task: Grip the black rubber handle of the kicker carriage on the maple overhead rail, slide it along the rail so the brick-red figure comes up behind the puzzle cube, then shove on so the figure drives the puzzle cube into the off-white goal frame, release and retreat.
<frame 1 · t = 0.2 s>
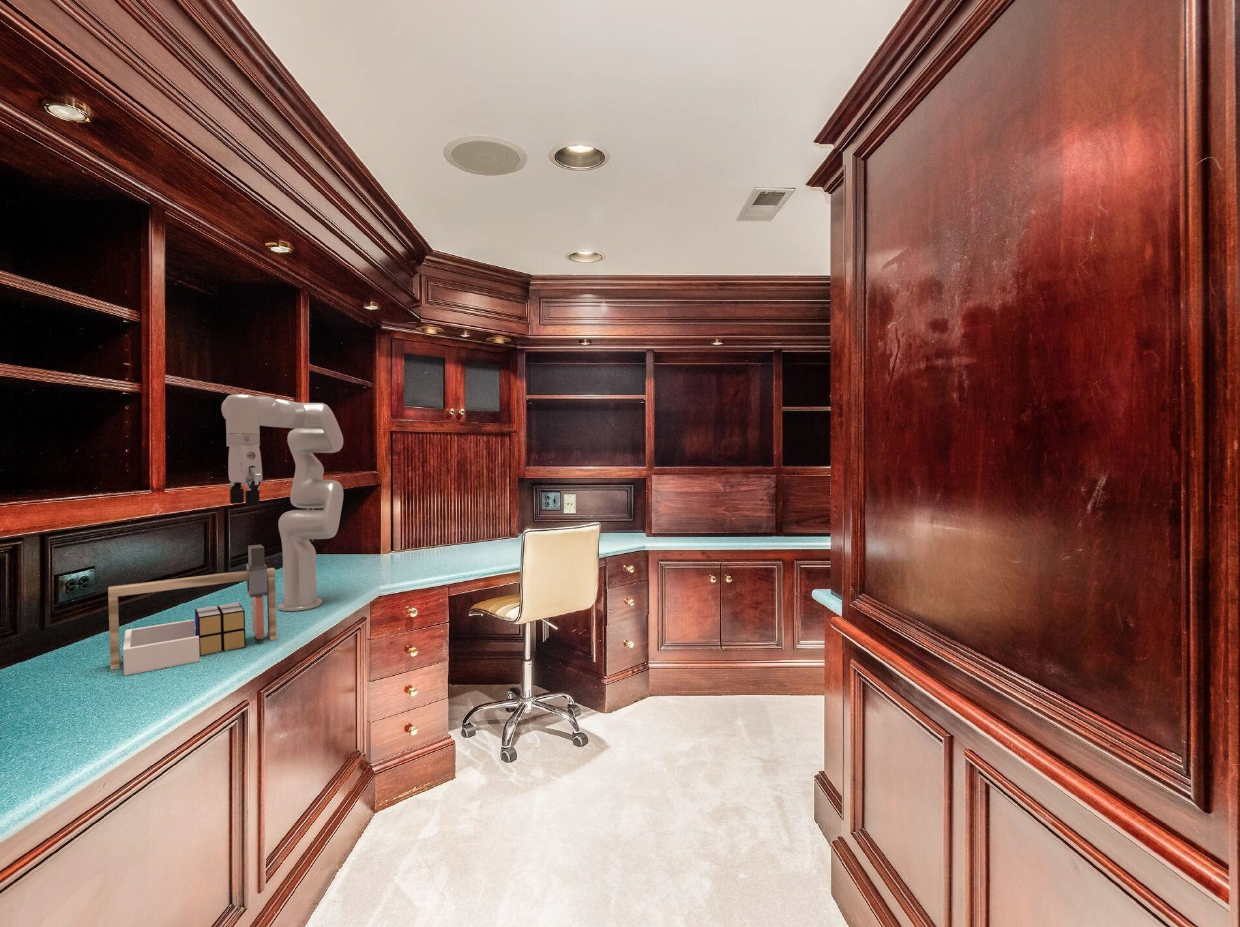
hand: (244, 504, 158), 37 cm above the table, tool pointing down, fingers open, 9 cm apart
goal: (162, 657, 146), on the table
puzzle cube: (220, 647, 154), on the table
kicker: (257, 590, 159), point 13 cm above the table, slide at 0.0 cm
rail gantry: (199, 650, 151), on the table
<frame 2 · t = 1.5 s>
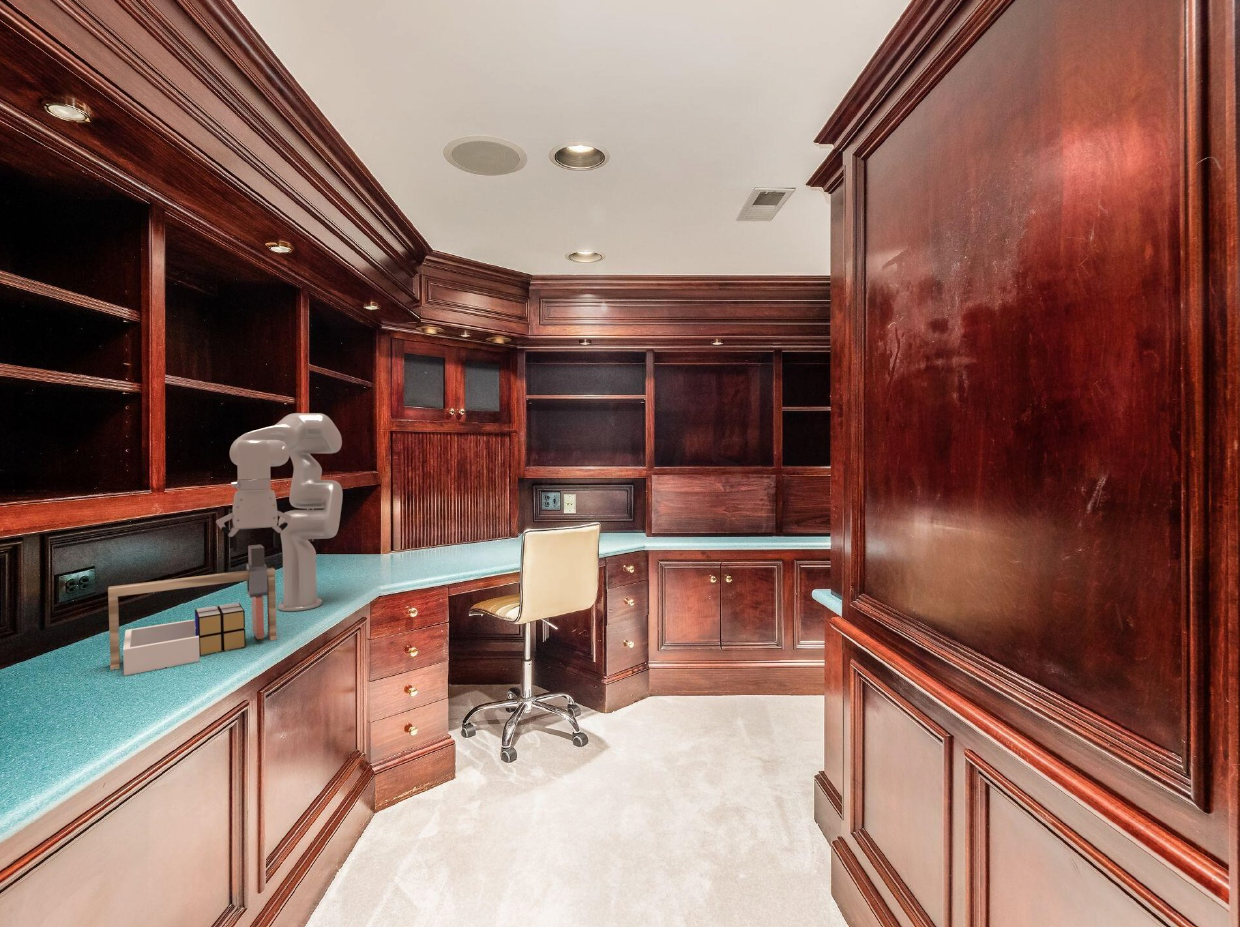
hand: (255, 549, 158), 25 cm above the table, tool pointing down, fingers open, 9 cm apart
nothing on the table moved.
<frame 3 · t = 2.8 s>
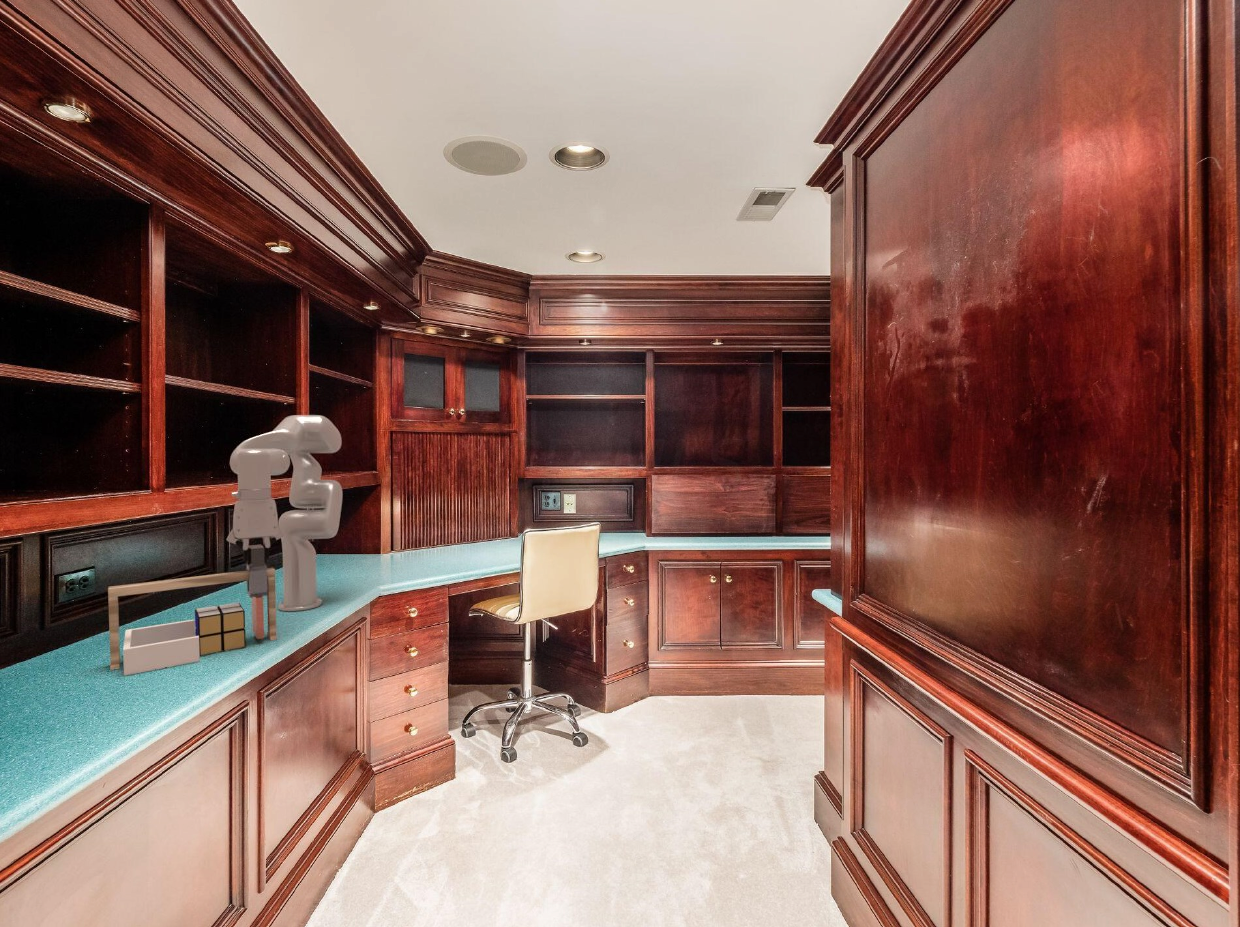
hand: (256, 562, 158), 21 cm above the table, tool pointing down, fingers closed on kicker, 3 cm apart
kicker: (257, 590, 159), point 13 cm above the table, slide at 0.0 cm, touching gripper
everything else where it was.
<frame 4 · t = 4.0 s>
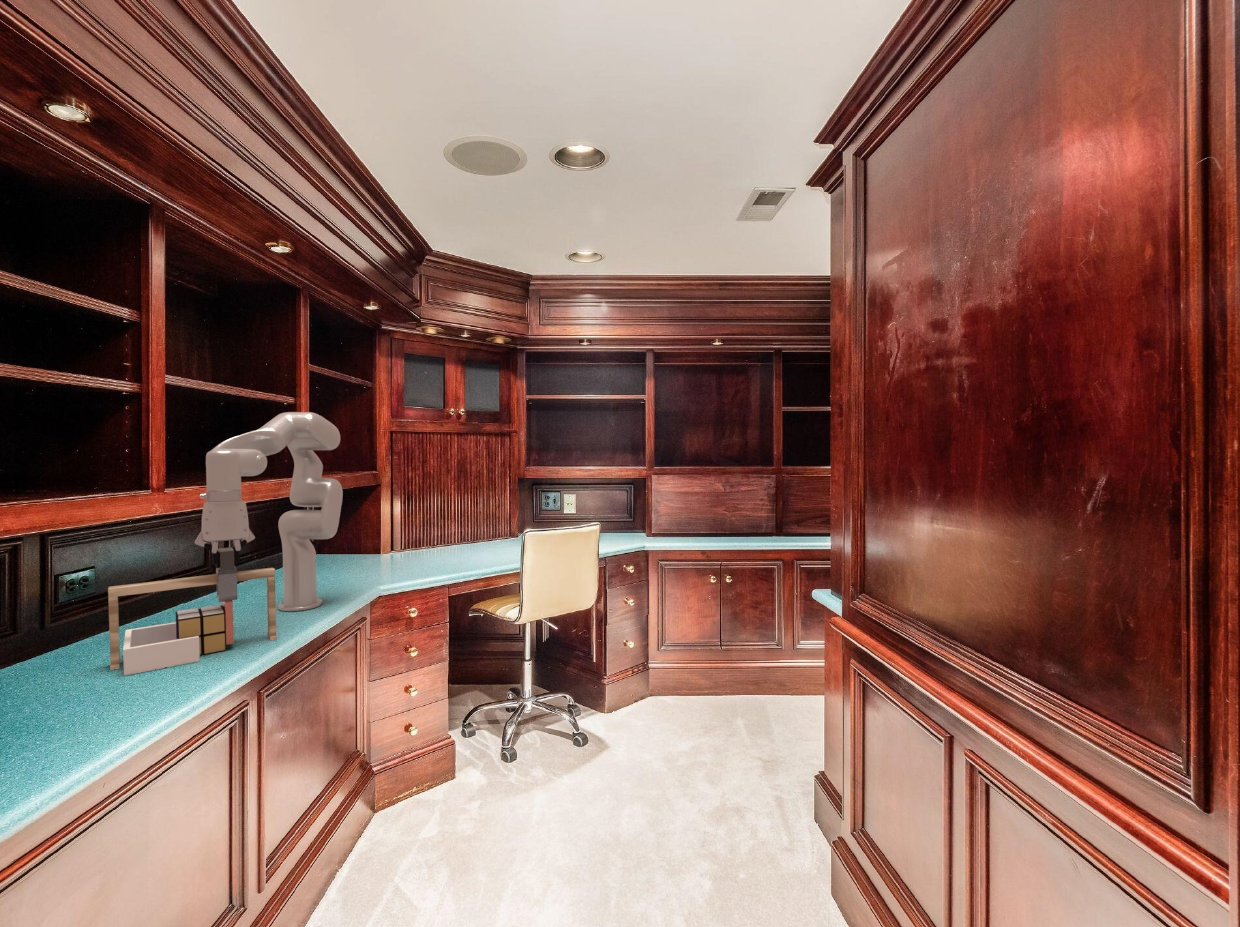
hand: (226, 565, 154), 21 cm above the table, tool pointing down, fingers closed on kicker, 3 cm apart
puzzle cube: (201, 650, 151), on the table, touching kicker
kicker: (227, 594, 154), point 13 cm above the table, slide at 6.8 cm, touching gripper, puzzle cube
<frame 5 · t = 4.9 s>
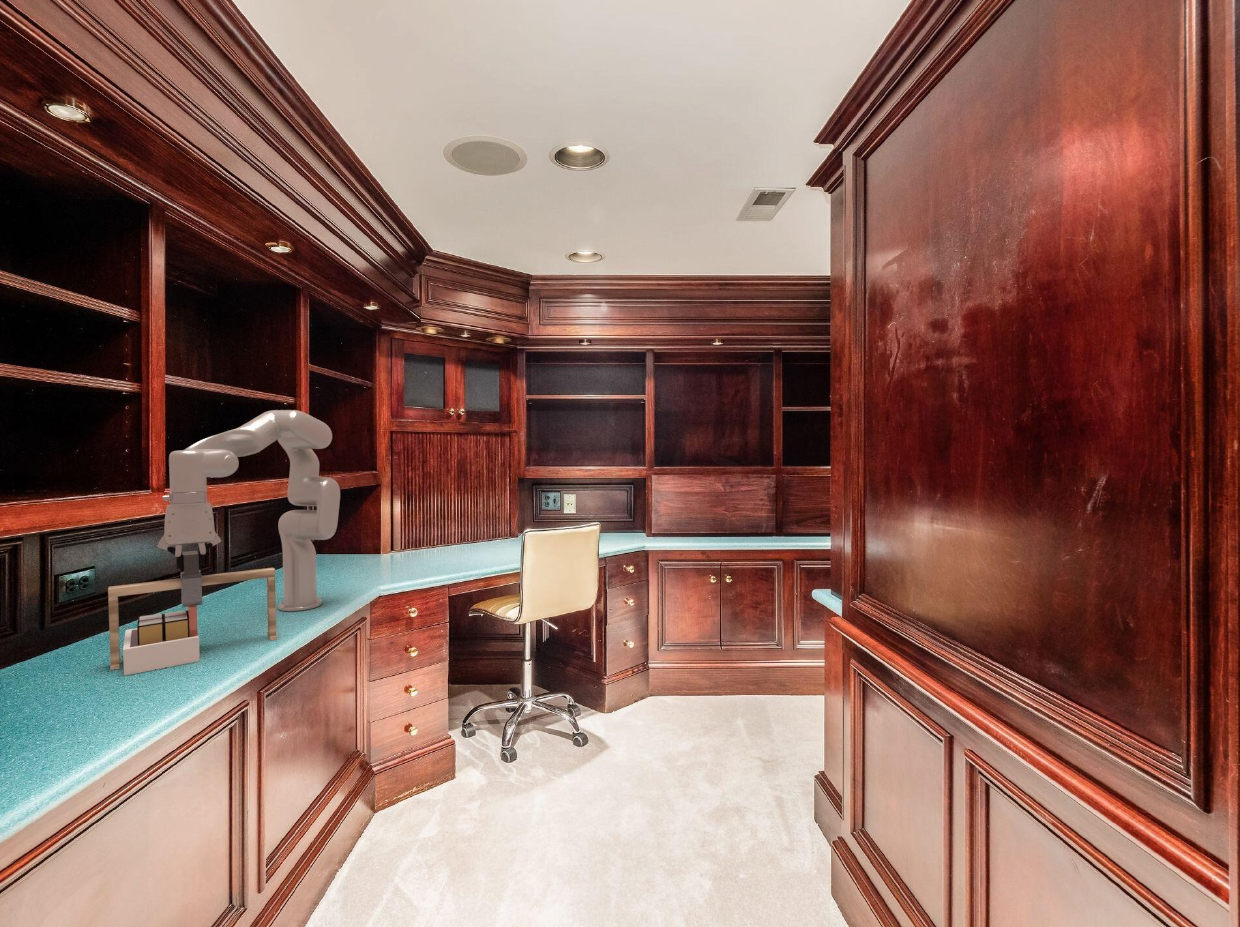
hand: (190, 569, 149), 21 cm above the table, tool pointing down, fingers closed on kicker, 3 cm apart
puzzle cube: (164, 657, 147), on the table
kicker: (191, 599, 150), point 13 cm above the table, slide at 14.4 cm, touching gripper
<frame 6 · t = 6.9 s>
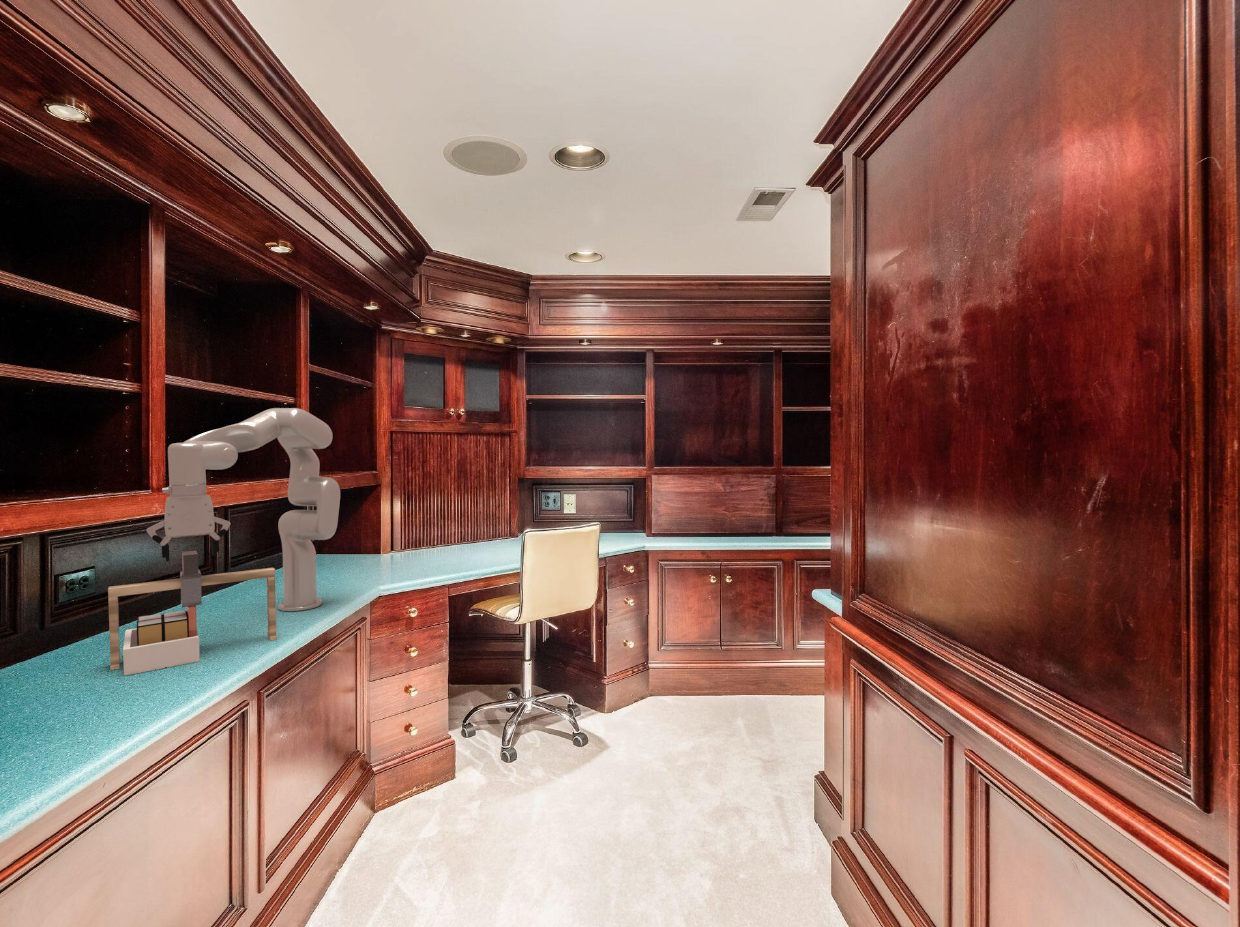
hand: (191, 557, 150), 24 cm above the table, tool pointing down, fingers open, 9 cm apart
kicker: (191, 599, 150), point 13 cm above the table, slide at 14.5 cm
everything else where it was.
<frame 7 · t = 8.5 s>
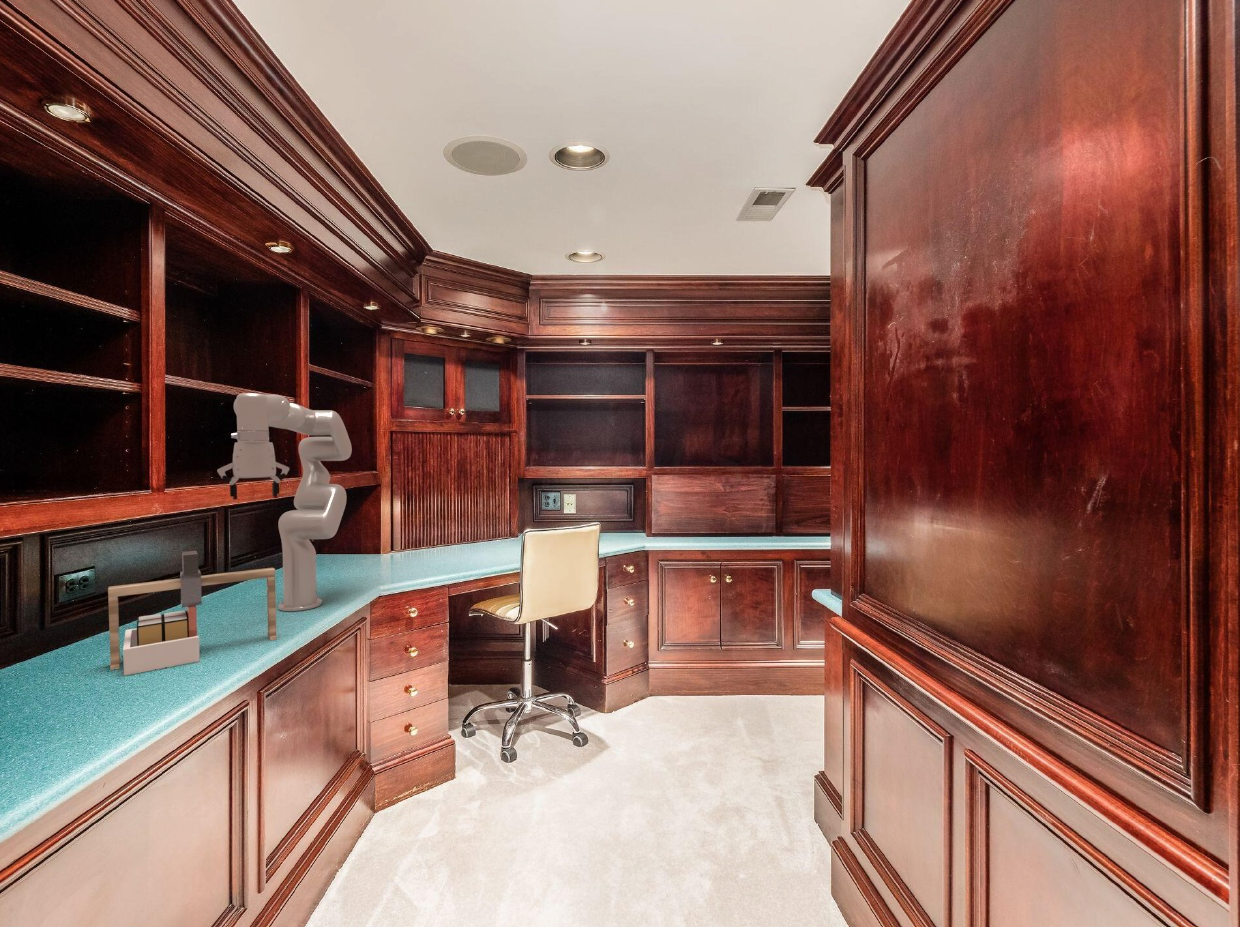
hand: (255, 497, 165), 38 cm above the table, tool pointing down, fingers open, 9 cm apart
nothing on the table moved.
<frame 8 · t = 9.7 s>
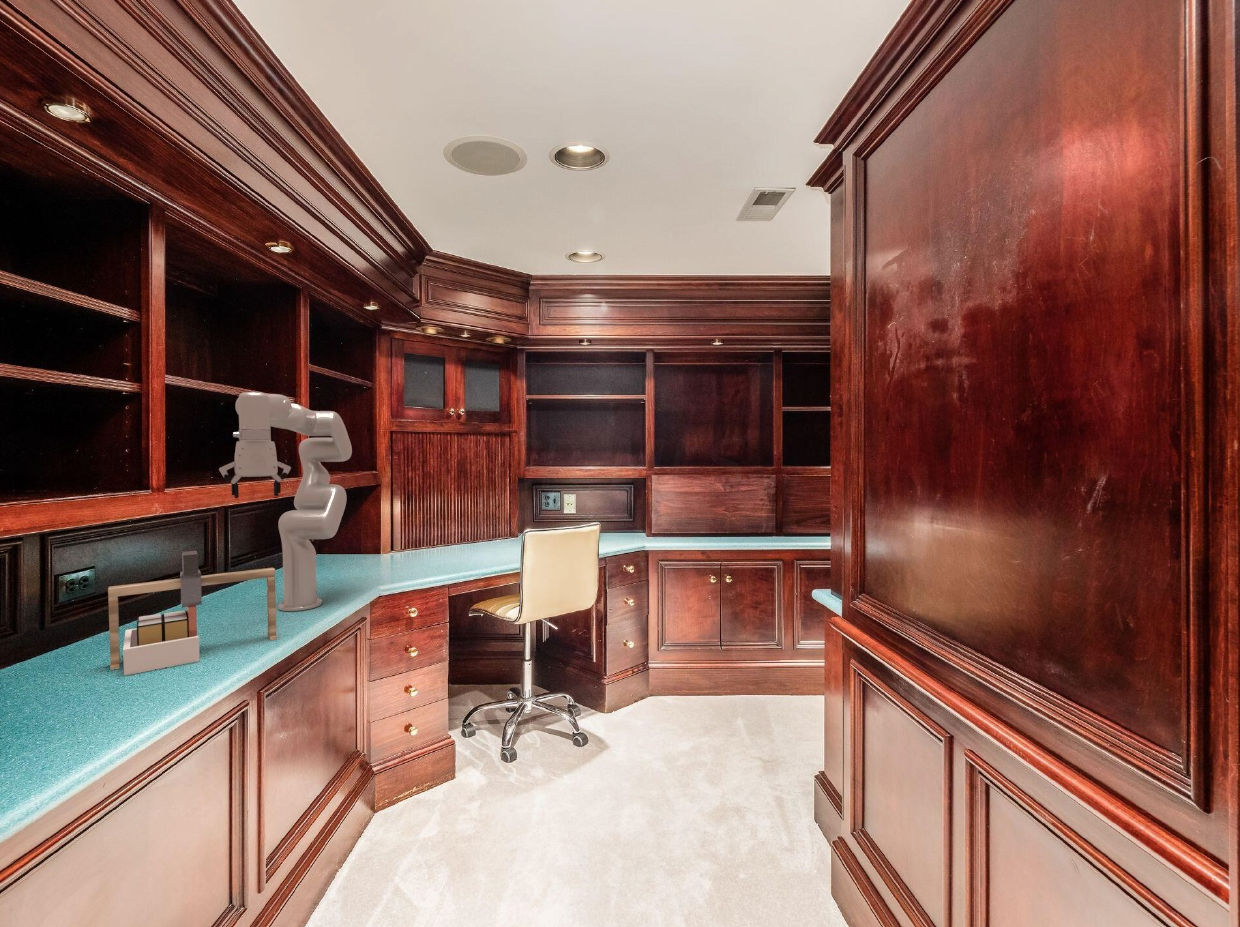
hand: (256, 496, 166), 38 cm above the table, tool pointing down, fingers open, 9 cm apart
nothing on the table moved.
at the end: puzzle cube inside the target area (1.2 cm from its centre), on the table; kicker slide at 14.5 cm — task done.
